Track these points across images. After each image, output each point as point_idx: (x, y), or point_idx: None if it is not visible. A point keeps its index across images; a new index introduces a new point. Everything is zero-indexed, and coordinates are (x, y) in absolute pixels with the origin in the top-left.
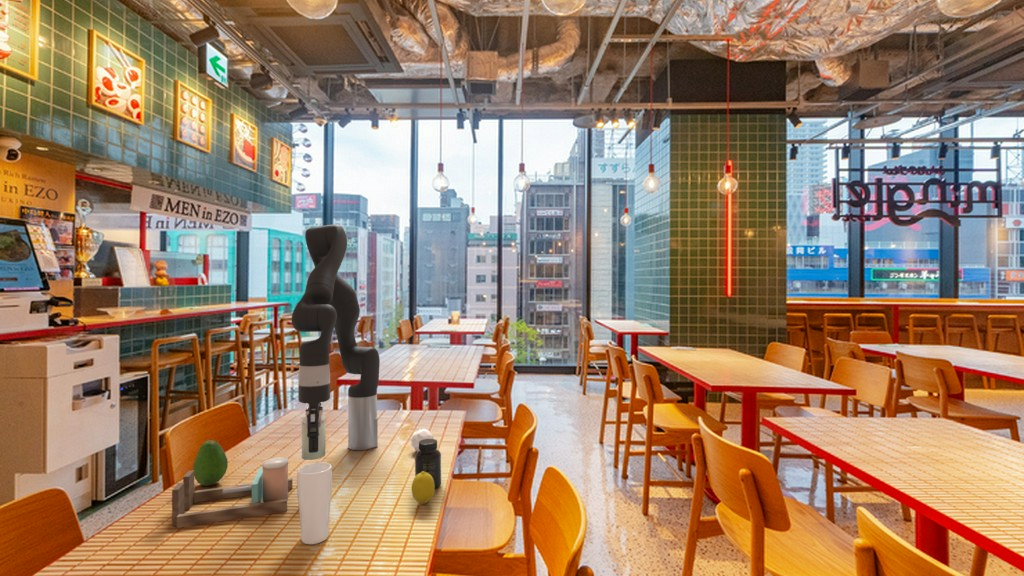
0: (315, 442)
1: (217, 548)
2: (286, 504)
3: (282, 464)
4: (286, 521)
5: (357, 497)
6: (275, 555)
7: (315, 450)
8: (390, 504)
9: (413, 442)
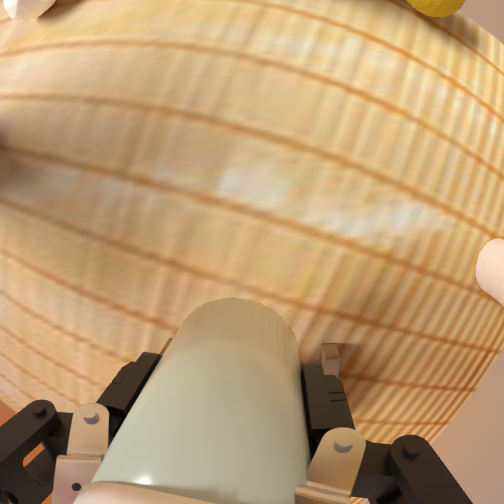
0: (347, 415)
1: (422, 415)
2: (338, 353)
3: None
4: (392, 334)
5: (323, 142)
6: (497, 325)
7: (334, 378)
8: (401, 65)
9: (34, 5)
